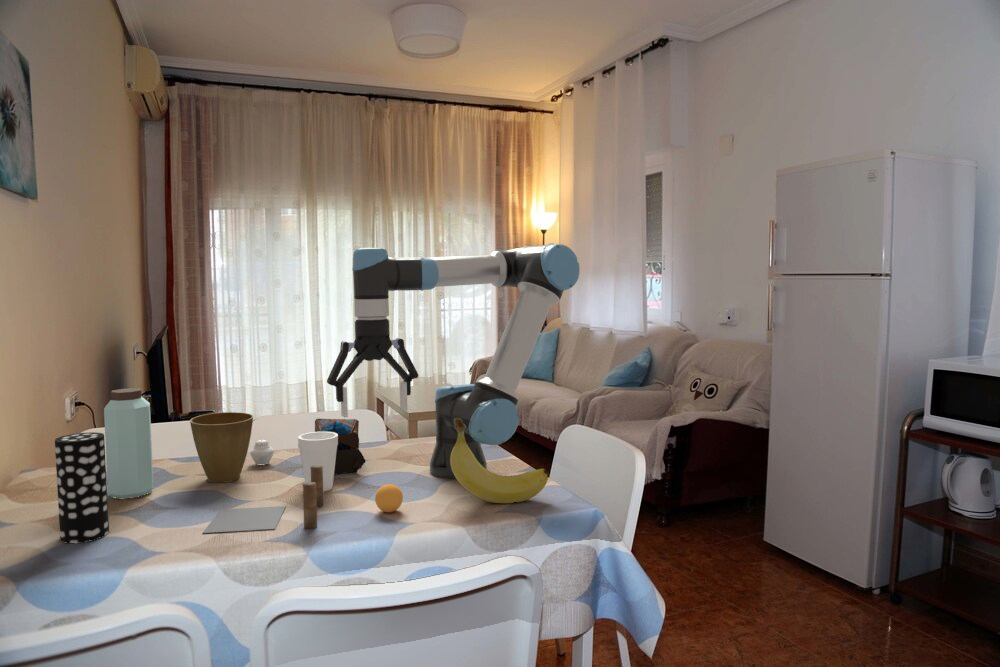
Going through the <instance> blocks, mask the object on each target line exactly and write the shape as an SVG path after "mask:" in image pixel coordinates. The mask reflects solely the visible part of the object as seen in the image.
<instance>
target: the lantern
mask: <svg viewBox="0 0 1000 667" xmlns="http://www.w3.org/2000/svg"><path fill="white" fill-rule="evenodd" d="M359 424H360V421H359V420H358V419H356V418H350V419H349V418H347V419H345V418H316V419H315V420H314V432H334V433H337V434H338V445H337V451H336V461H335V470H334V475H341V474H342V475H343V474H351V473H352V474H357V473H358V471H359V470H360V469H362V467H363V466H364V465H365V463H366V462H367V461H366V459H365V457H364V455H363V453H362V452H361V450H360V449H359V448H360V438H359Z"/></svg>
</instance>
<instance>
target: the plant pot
mask: <svg viewBox="0 0 1000 667" xmlns="http://www.w3.org/2000/svg"><path fill="white" fill-rule="evenodd" d="M253 422H254V415H253V414H251V413H248V412H237V411H234V412H233V411H226V412H225V411H224V412H223V411H222V412H214V413H213V412H211V413H206V414H205V413H204V414H201V415H198V416H195V417H192V418H191V419H189V424H190V428H191V432H192V439H193V442H194V446H195V449H196V452H197V456H198V458H199V461H200V464H201V467H202V469H203V471H204V473H205V476H206V478H207V480H208V481H209V482H210V481H211V483H214V482H224V483H229V482H228V481H230V482H234V481H237V480H238V479H239V478H240V476H241V473H242V471H243V468H244V465H245V463H246V462H245V461H246V459H247V454H248V450H249V447H250V441H251V437H252V430H253ZM233 480H234V481H233Z"/></svg>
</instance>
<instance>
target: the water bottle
mask: <svg viewBox="0 0 1000 667" xmlns="http://www.w3.org/2000/svg"><path fill="white" fill-rule="evenodd" d="M142 392H143V389H142V388H137V387H132V388H129V387H128V388H119V389H114V390H111V392H110V400H109V402H108V403H107V404H106V405H105V407H104V408H103V418H104V419H103V420H104V441H105V460H106V480H107V495H109V496H110V497H111V498H112V497H116V498H130V497H138V496H141V495H144V494H147V493H149V494H150V493H151V491H152V490H153V487H154V468H153V465H154V464H153V448H152V447H153V446H152V445H153V444H152V421H151V419H152V418H151V403H150V402H149V401H148V400H146V398H144V397H143V396H142V394H143V393H142ZM147 495H148V494H147ZM144 496H145V495H144ZM141 497H142V496H141ZM116 498H115V499H116ZM138 498H139V497H138ZM130 499H131V498H130Z"/></svg>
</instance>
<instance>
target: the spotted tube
mask: <svg viewBox="0 0 1000 667" xmlns="http://www.w3.org/2000/svg"><path fill="white" fill-rule="evenodd" d="M54 450H55V452H54V454H55V467H56V468H55V470H56V484H57V485H56V487H57V503H58V504H57V505H58V520H59V524H58V525H59V539H60V540H61V541H63V542H67V543H66V544H69V543H75V544H79V543H78V542H84V543H87V542H86V541H89V540H93V541H95V540H94V539H97V538H99V537H102V536H104V535H106V534H107V533H108V532H109V533H110V525H109V523H110V521H109V520H110V519H109V503H108V480H107V461H106V441H105V433H102V432H96V431H95V432H93V431H92V432H80V433H79V432H78V433H77V432H76V433H72V434H71V433H70V434H67V435H61V436H58V437H56V438H54ZM109 533H108V534H109ZM108 534H107V535H108ZM107 535H106V536H107ZM104 537H105V536H104ZM102 538H103V537H102ZM99 539H100V538H99ZM60 540H59V541H60ZM97 540H98V539H97ZM61 541H60V542H61ZM63 542H62V543H63ZM89 542H90V541H89Z"/></svg>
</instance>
